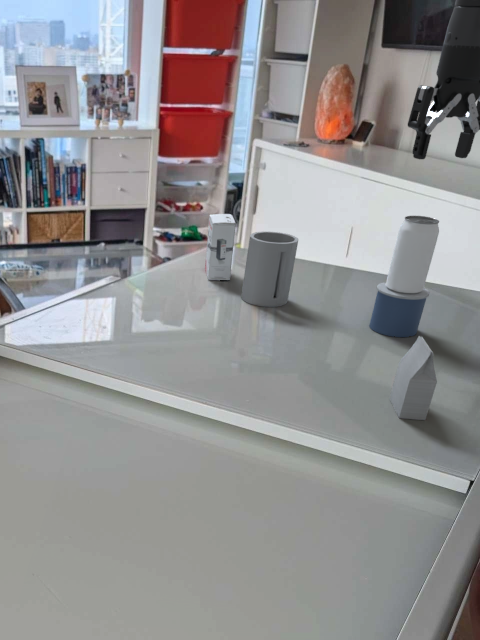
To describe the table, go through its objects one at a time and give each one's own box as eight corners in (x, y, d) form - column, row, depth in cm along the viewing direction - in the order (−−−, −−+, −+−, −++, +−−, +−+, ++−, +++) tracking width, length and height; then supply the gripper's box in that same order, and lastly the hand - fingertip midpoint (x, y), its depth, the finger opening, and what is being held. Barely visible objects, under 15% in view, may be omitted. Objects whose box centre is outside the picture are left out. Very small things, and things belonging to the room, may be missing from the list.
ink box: (203, 268, 168) (209, 212, 162) (225, 269, 168) (233, 213, 162) (206, 280, 161) (213, 222, 154) (230, 281, 161) (238, 223, 154)
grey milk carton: (398, 418, 109) (417, 352, 103) (389, 398, 114) (406, 334, 109) (425, 420, 109) (445, 354, 103) (414, 400, 114) (433, 336, 109)
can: (379, 283, 138) (395, 214, 132) (412, 283, 139) (430, 215, 132) (394, 294, 133) (412, 223, 126) (429, 294, 134) (449, 224, 127)
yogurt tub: (397, 318, 145) (407, 280, 141) (429, 335, 138) (440, 295, 134) (357, 322, 142) (366, 283, 138) (388, 340, 135) (398, 299, 131)
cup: (259, 289, 157) (269, 229, 151) (296, 300, 152) (307, 239, 145) (232, 297, 152) (240, 235, 145) (268, 309, 147) (279, 246, 140)
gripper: (449, 43, 111) (419, 163, 120) (525, 45, 115) (490, 161, 124) (415, 40, 117) (389, 155, 126) (488, 42, 121) (458, 153, 130)
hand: (439, 158), depth 125 cm, fingers open, 8 cm apart
